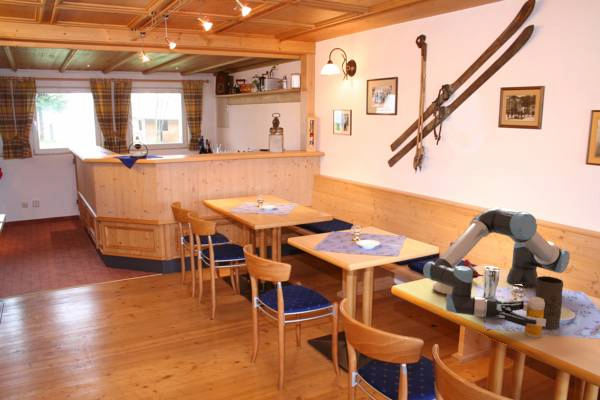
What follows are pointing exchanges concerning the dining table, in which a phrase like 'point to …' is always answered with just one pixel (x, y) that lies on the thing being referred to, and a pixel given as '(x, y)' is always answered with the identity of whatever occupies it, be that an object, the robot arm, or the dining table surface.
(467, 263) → the decorative bird figurine
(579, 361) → the dining table surface
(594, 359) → the dining table surface
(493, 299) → the round grey ashtray
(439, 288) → the handbell
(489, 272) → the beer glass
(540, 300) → the glass of beer
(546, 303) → the beer stein
